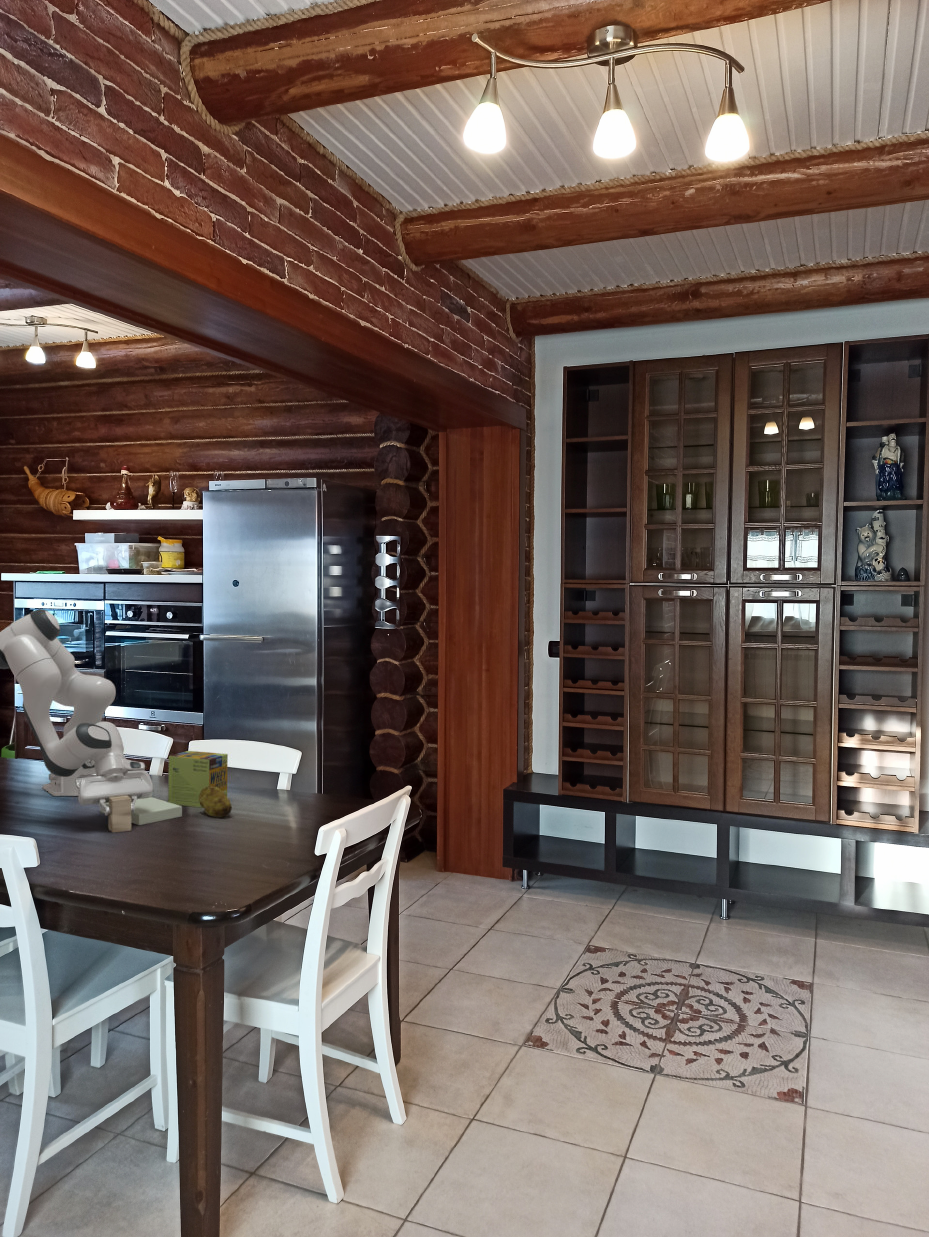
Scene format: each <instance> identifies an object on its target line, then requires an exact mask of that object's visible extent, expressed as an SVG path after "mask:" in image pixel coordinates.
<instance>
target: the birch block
mask: <svg viewBox="0 0 929 1237" xmlns="http://www.w3.org/2000/svg"><path fill="white" fill-rule="evenodd" d="M109 807H111V811H112V813H111V815H108V830H109V831H111V833H120V832H127V831H129V832H130V831H132V823H131V798H130V797H129V796H119V797H110V798H109Z"/></svg>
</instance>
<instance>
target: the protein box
mask: <svg viewBox="0 0 929 1237" xmlns="http://www.w3.org/2000/svg"><path fill="white" fill-rule="evenodd" d="M209 786H214V787H218V788H219V789H220V790H221V791H222V792H224V793H225V794H226V795H227V796H228V753H218V752H210V751H209V752H208V751H197V750H194V751H193V750H187V751H183V752H179V753H175V754H171V755H168V791H167V792H168V793H167V794H168V795H167V796H168V798H167V799H168V800H167V802H169V803H172V804H176V805H179V806H182V807H183V806H185V807H192V808H200V807H201V808H202V809H204V808H203V807H202V806H201V805H200V802H199V795H200V793H201V791H202V790H203V789H204V788H206V787H209Z"/></svg>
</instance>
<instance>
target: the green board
mask: <svg viewBox="0 0 929 1237" xmlns="http://www.w3.org/2000/svg"><path fill="white" fill-rule="evenodd" d="M132 803H133V802H132ZM132 803H131V804H132ZM105 805H106V806H107V807H109V803H105ZM99 809H100V810H99V811H100V813H102V814H105V812H104V811H103V810H102V809H101V808H100V807H99ZM182 816H183V805H176V804H172V803H169V802H168V801H165V800H162V799H159V798H156V797H152V796H151V797H150V798H144V799H137V800H136V803H135V812H131V824H135V825H138V826H142V825H146V824H151V823H156V822H162V821H166V820H171V819H175V818H179V817H180V818H181V817H182Z"/></svg>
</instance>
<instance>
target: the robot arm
mask: <svg viewBox="0 0 929 1237" xmlns="http://www.w3.org/2000/svg"><path fill="white" fill-rule="evenodd" d="M60 633H61V627H60V624H59V621H58V619H57V618H56V616H55V615H53V613H51V612H49V611H48V610H47V609H42V608H38V609H35V610H33V611H31V612H30V613H29V614H26V615H24V616H23V617H20V618H18V619H17V620H15V621H13V622H11V624H9V625H8V626H7V627H5V628H4V629H3V630H1V631H0V670H1V669H2V670H8V669H10V670H11V672H12V674H13V675H14V678H15V679H16V680H17V682H18V685H19V687H20V690H21V694H22V710H23V713H24V715H25V718H26V721H27V723H28V725H29V727H30V729H31V733H33V736H34V738H35V740H36V742H37V745H38V747H39V749H40V752H41V755H42V760H43V763H44V766H45V768H46V769H47V771H48V772H50V773H49V774H48V780H49V782H48V783H45V784H43V785H42V789H43V790H44V791H46V792H47V791H48V792H47V793H49V794H50V795H52V796H53V797H61V796H62V797H65V796H67V797H71V796H72V797H76V796H77V797H78V803H79V804H80V805H81V806H90V805H92V806H93V805H98V807H99V809H100V808H101V809H102V810H103V811H104V812H105V813H104V816H109V815H111V813H112V811H111V807H107V806H106V805H105V803H109V798H110V797H119V796H129V797H130V798H131V803H132V802H133V803H132V804H131V812H135V803H136V800H137V799H144V798H150V797H152V795H153V793H154V790H155V788H154V784H153V781H152V779H151V775H150V774H149V772H148V771H146V770H145V769H146V765H145V762H142V761H136V760H130V759H127V758H126V756H125V754H124V751H125V749H124V748H125V746H124V743H123V740H122V737H121V733H120V730H119V729H118V727H117V725H115V724H114V723H112V722H109V721H102V720H103V718H104V717H103V716H104V715H105V712H106V710H107V708H108V707H109V706H111V705H112V703H113V702H114V701H115V698H116V691H117V690H116V686H115V684H114V683H113V682H112V681H111V680H110V679H107V678H105V677H103V676H100V675H91V674H90V675H89V674H84V673H81V672H80V671H78V670H77V668H76V667H75V664H76V660H75V657H74V655H73V654H72V653H71V652H70V651H69V650H68V648H66V647H65V646H64V644H62V642H61V641H60V640H59V639H58V637H59V635H60ZM53 702H55V703H57V704H58V705H62V706H64V707H70V708H71V707H72V708H73V711H72V712H73V713H72V716H71V718H70V720H69V721H68V722H67V723H65V725H64V727H63V737H62V738H60V737H59V736H58V734H57V733H58V732H57V731H56V729H55V726H54V725H53V722H52V720H51V718H50V709H51V706H52V703H53Z"/></svg>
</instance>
